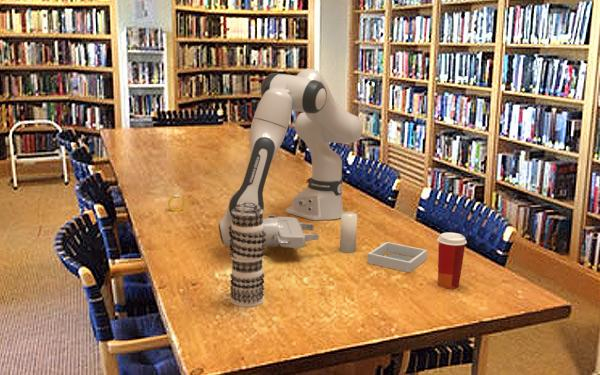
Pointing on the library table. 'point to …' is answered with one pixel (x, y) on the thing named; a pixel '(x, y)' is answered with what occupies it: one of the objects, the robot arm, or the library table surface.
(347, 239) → the white pillar candle
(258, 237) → the decorative candle
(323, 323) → the library table surface
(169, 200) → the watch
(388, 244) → the corral
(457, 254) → the paper cup
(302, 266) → the library table surface
